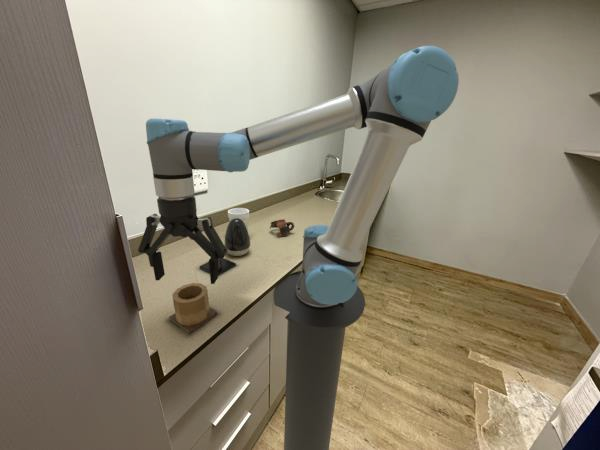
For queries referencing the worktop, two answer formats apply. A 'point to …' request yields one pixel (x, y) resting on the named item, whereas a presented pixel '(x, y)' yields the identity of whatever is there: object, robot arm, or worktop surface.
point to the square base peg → (223, 268)
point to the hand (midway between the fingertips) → (187, 279)
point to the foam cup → (239, 215)
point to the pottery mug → (282, 227)
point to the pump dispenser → (237, 238)
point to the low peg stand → (192, 328)
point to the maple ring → (191, 304)
